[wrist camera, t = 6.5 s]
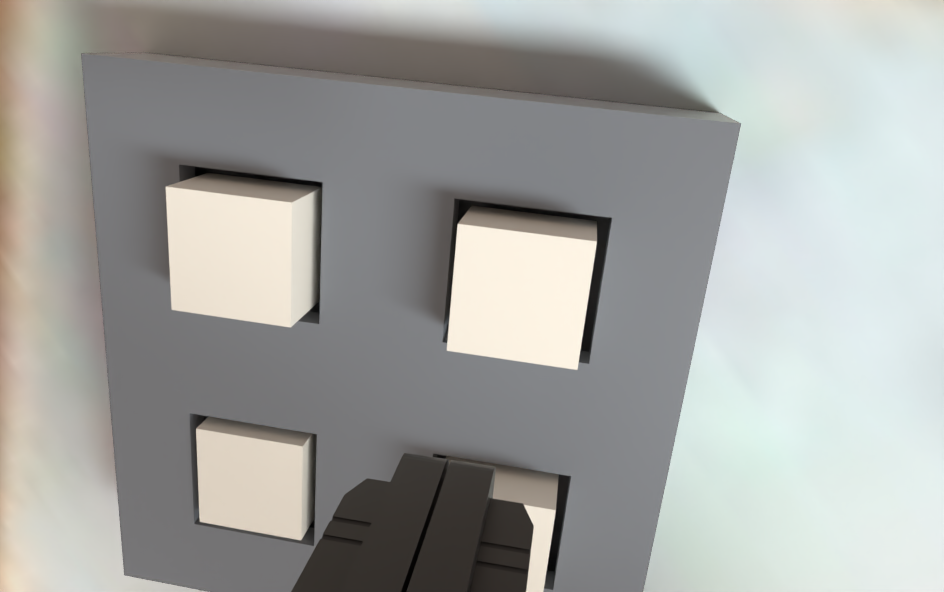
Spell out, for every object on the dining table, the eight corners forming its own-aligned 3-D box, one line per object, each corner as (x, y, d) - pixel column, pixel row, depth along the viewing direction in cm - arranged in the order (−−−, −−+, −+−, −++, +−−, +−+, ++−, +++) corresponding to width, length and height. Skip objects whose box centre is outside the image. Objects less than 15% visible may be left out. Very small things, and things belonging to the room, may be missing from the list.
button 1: (559, 467, 26) (555, 510, 24) (545, 559, 27) (540, 609, 25) (449, 449, 27) (434, 489, 24) (440, 540, 28) (425, 587, 25)
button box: (720, 113, 24) (741, 123, 20) (622, 605, 30) (625, 672, 27) (145, 52, 26) (81, 53, 23) (171, 522, 33) (124, 575, 29)
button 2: (327, 412, 28) (302, 446, 26) (325, 499, 30) (301, 540, 27) (229, 396, 29) (195, 428, 26) (231, 483, 30) (199, 521, 28)
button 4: (322, 186, 24) (291, 202, 22) (319, 300, 25) (290, 327, 23) (208, 172, 25) (165, 186, 22) (211, 285, 26) (171, 310, 24)
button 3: (596, 221, 23) (596, 241, 21) (578, 338, 24) (577, 370, 22) (472, 205, 24) (457, 223, 21) (460, 321, 25) (446, 350, 22)
